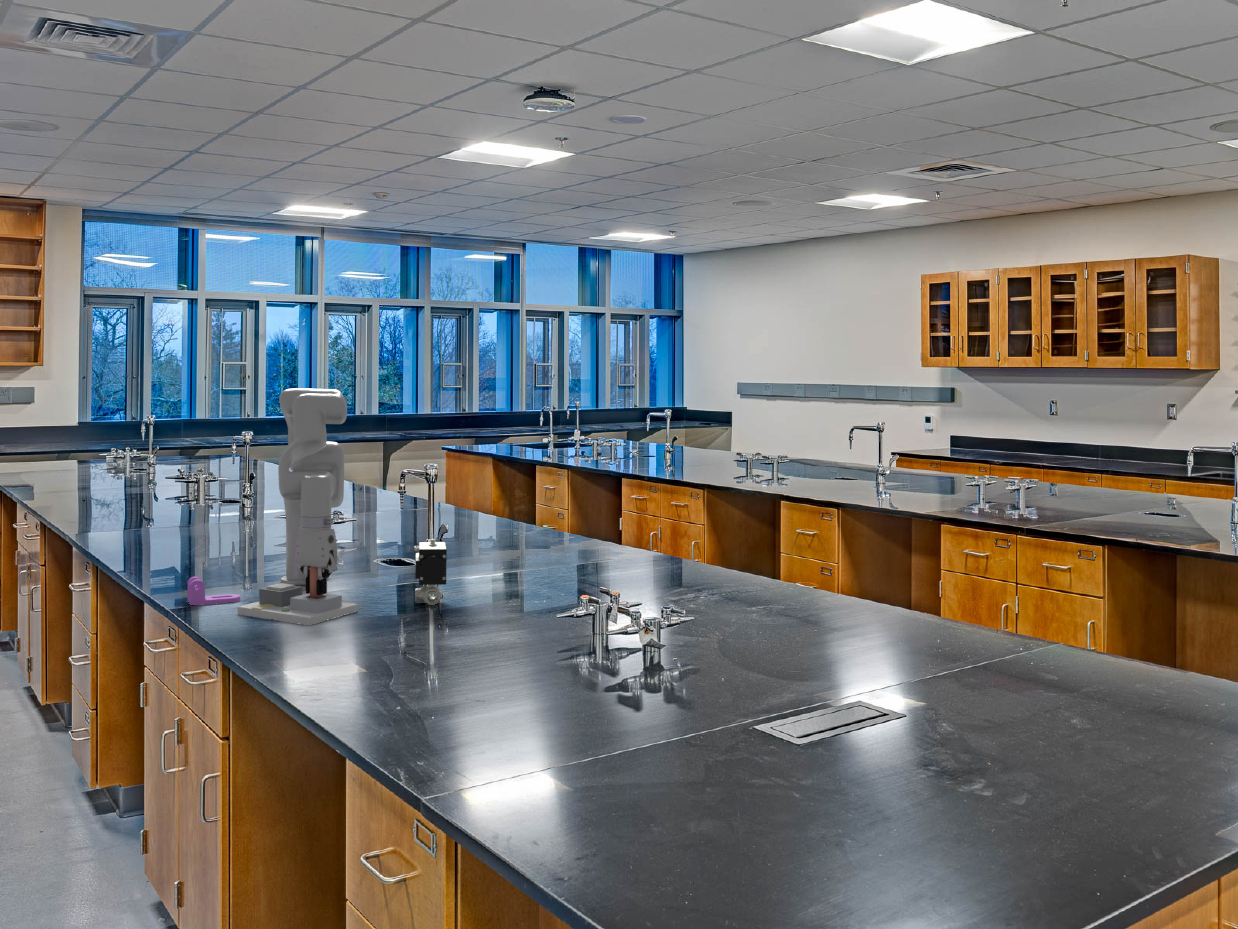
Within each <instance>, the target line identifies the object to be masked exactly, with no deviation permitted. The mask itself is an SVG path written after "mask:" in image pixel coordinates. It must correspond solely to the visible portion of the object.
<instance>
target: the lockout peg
mask: <svg viewBox="0 0 1238 929" xmlns="http://www.w3.org/2000/svg"><path fill="white" fill-rule="evenodd" d="M318 579H319V578H318V568H317V567H310V598H314V599H319V598H322V597H323V594H322V595H317V591H316V581H317V580H318Z"/></svg>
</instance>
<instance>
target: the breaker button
mask: <svg viewBox="0 0 1238 929" xmlns="http://www.w3.org/2000/svg"><path fill="white" fill-rule="evenodd" d="M295 586H296V585H292V584H284V583H282V582H280V583H275V584H270V585H266V587H267V589H272V590H279V591H283V590H287V589H291V588H295Z"/></svg>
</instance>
